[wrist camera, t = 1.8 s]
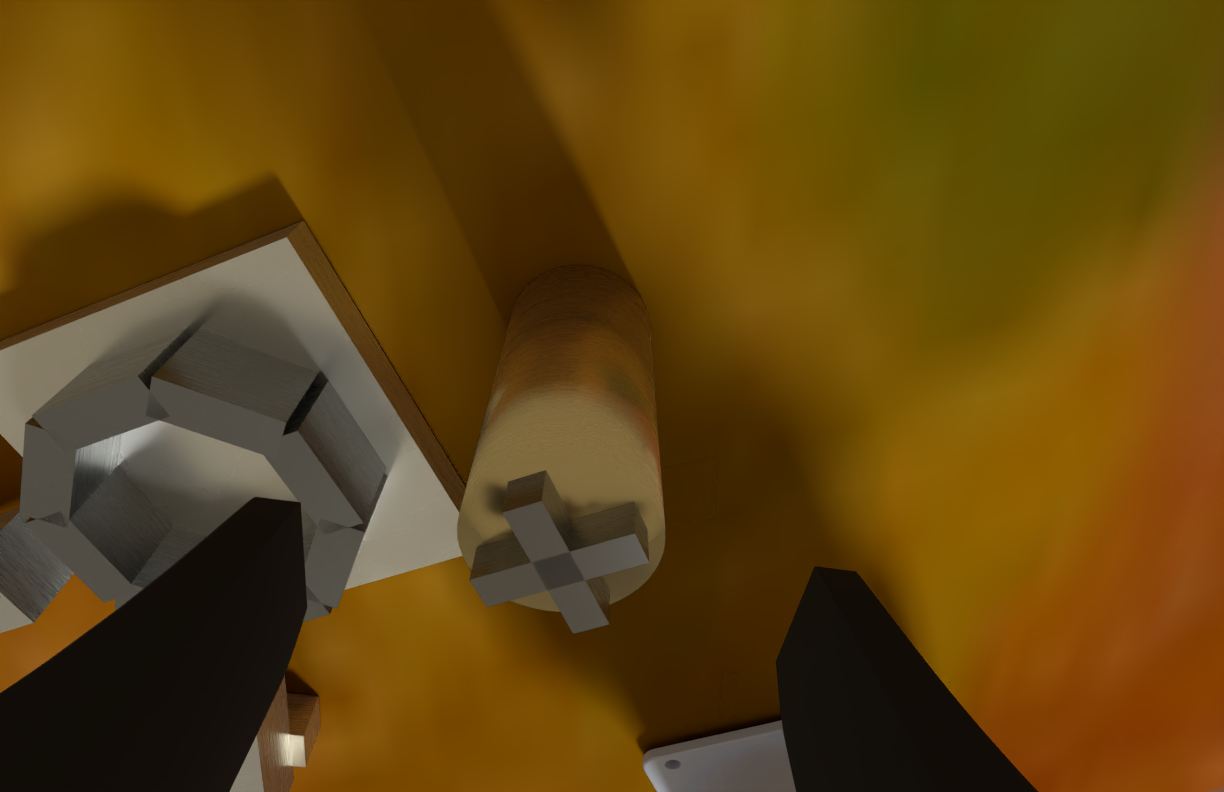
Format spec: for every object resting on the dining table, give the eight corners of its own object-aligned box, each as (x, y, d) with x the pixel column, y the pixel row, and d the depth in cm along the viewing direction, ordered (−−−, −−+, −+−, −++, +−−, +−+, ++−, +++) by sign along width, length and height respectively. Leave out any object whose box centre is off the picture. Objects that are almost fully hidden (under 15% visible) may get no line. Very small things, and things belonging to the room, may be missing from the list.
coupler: (621, 245, 17) (622, 457, 10) (668, 365, 19) (696, 616, 12) (486, 292, 18) (408, 522, 11) (544, 405, 19) (505, 665, 13)
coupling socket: (303, 219, 17) (237, 285, 14) (577, 672, 24) (572, 775, 21) (-185, 414, 19) (-324, 503, 17) (199, 766, 27) (148, 869, 24)
